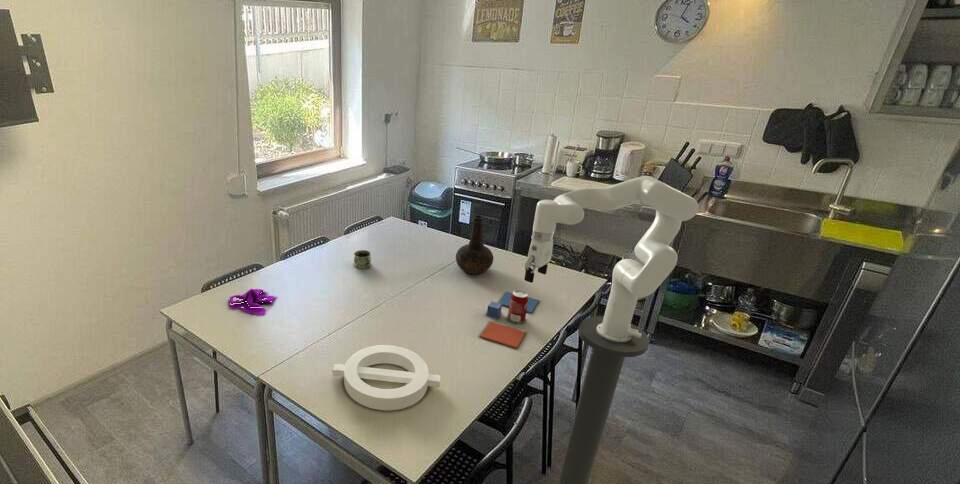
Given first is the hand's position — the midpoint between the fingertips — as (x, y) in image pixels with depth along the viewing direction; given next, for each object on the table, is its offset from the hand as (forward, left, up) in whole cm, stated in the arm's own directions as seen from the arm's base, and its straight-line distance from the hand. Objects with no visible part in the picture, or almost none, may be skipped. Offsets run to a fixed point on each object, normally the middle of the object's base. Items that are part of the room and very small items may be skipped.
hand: (535, 277), depth 182 cm
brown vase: (+36, -39, -23) cm, 59 cm away
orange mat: (+6, +9, -23) cm, 26 cm away
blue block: (+14, -4, -23) cm, 28 cm away
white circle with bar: (+31, +57, -23) cm, 69 cm away
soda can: (+5, -5, -23) cm, 25 cm away
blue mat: (+8, -19, -23) cm, 31 cm away
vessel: (+85, -15, -23) cm, 90 cm away
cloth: (+105, +42, -23) cm, 116 cm away
